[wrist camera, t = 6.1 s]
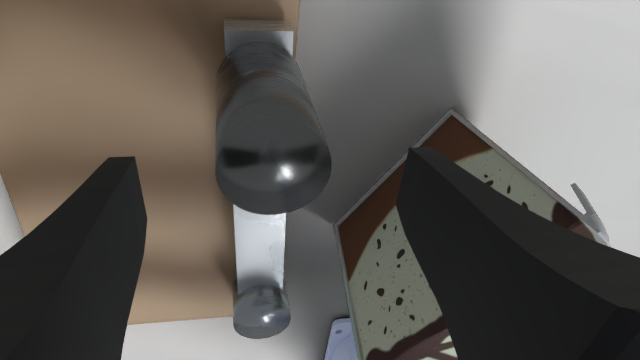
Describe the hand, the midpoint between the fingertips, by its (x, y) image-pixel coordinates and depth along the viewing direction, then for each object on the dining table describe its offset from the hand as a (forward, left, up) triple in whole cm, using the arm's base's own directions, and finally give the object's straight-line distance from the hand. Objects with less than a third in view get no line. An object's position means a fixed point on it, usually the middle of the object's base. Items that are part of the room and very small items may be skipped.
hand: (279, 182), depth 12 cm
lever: (-6, 0, -7) cm, 10 cm away
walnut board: (-6, +5, -9) cm, 12 cm away
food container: (-8, -10, -9) cm, 16 cm away
